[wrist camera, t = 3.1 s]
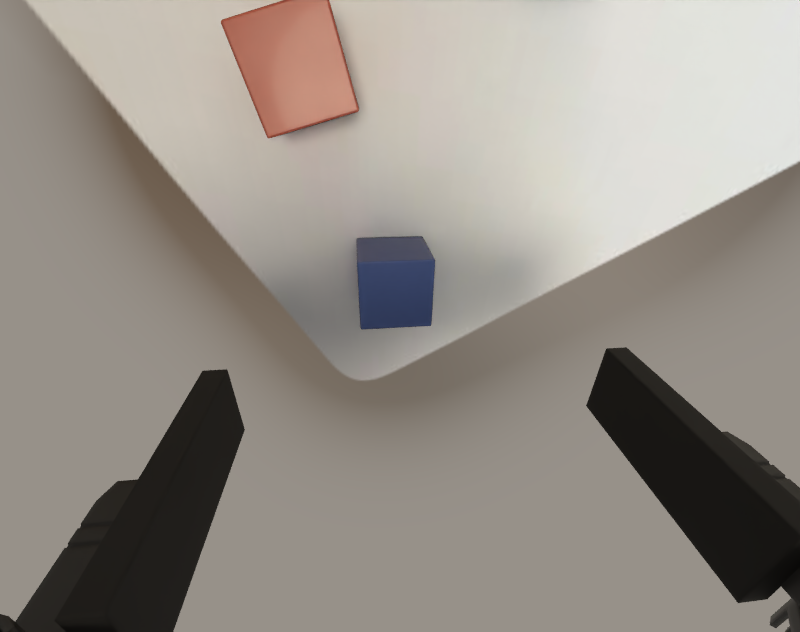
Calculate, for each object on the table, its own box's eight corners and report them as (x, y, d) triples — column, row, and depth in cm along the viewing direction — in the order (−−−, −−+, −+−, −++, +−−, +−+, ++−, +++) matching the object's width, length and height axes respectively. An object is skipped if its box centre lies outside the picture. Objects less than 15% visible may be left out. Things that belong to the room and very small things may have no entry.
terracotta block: (283, 133, 18) (267, 138, 15) (247, 38, 16) (219, 19, 13) (358, 110, 18) (359, 111, 15) (331, 12, 16) (325, -14, 13)
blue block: (359, 297, 24) (360, 330, 20) (356, 237, 22) (356, 262, 18) (420, 295, 24) (431, 326, 20) (422, 235, 22) (435, 259, 19)
